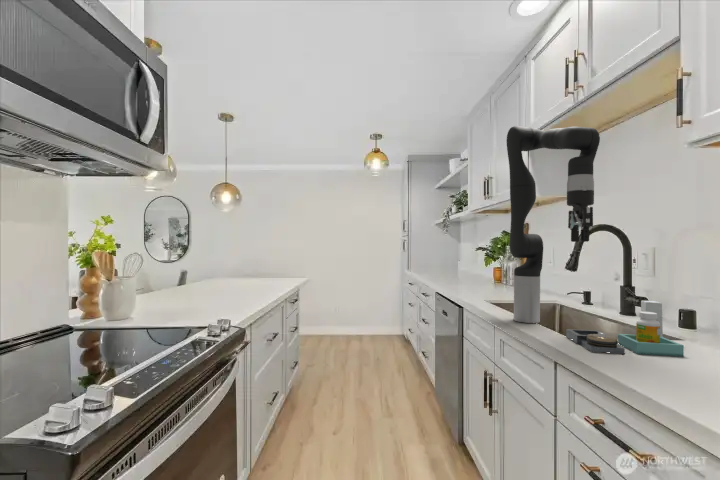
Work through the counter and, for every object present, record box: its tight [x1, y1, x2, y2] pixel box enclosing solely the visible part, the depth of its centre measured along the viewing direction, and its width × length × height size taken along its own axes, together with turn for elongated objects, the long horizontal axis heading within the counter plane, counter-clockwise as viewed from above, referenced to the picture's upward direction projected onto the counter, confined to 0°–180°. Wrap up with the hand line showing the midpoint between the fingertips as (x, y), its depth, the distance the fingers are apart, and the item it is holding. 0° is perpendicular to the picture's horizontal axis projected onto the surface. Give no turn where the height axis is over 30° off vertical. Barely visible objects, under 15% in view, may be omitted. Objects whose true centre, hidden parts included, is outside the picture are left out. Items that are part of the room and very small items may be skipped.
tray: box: [617, 333, 685, 358], centre depth 110 cm, size 11×11×3 cm
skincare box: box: [640, 300, 664, 337], centre depth 122 cm, size 6×4×12 cm
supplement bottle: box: [635, 311, 660, 343], centre depth 111 cm, size 5×5×10 cm
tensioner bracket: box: [565, 328, 626, 355], centre depth 115 cm, size 18×9×4 cm, turn 170°
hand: (579, 241), depth 125 cm, fingers open, 8 cm apart
